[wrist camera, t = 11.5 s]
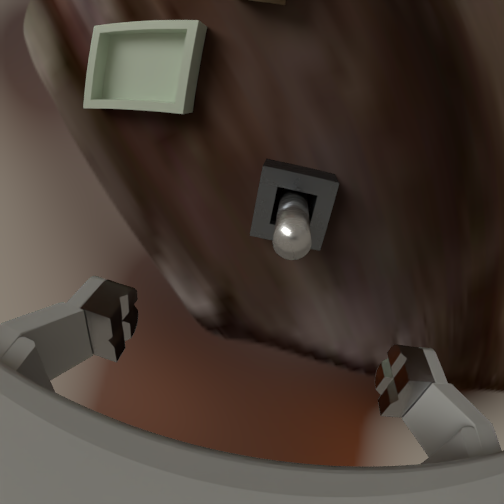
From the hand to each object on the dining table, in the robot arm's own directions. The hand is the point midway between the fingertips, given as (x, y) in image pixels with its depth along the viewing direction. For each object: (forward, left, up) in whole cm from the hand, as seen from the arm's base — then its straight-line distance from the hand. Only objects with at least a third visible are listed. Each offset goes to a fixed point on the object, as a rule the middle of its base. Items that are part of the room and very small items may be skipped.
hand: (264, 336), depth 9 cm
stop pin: (-1, +2, -20) cm, 20 cm away
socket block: (-1, +2, -20) cm, 20 cm away
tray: (+14, -8, -20) cm, 25 cm away
